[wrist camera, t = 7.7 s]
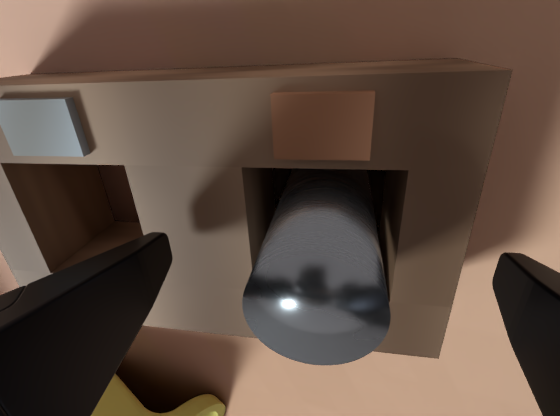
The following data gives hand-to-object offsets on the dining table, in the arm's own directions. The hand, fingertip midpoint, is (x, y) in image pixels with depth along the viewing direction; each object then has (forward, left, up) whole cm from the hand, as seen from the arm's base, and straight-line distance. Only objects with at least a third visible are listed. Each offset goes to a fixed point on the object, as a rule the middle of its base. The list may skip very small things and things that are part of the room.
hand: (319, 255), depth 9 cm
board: (+4, 0, -5) cm, 6 cm away
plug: (0, 0, -5) cm, 5 cm away
